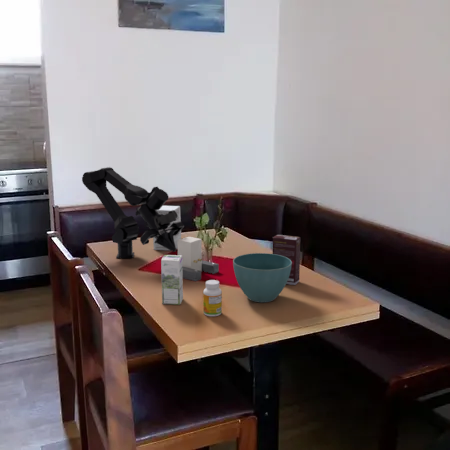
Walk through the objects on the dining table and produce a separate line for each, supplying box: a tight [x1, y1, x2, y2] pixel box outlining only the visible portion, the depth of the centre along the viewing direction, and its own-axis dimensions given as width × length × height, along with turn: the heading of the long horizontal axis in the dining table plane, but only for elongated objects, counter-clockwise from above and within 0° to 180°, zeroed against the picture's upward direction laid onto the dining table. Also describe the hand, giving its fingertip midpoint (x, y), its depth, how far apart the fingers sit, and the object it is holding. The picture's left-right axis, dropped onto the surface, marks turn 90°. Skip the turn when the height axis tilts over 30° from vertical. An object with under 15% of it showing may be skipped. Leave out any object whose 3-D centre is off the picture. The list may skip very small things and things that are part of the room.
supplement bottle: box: [202, 279, 223, 317], centre depth 170 cm, size 5×5×10 cm
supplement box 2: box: [272, 234, 301, 286], centre depth 197 cm, size 9×5×16 cm, turn 65°
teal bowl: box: [232, 252, 292, 303], centre depth 182 cm, size 18×18×12 cm
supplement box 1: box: [152, 205, 182, 252], centre depth 238 cm, size 10×9×17 cm
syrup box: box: [160, 254, 184, 306], centre depth 178 cm, size 6×6×14 cm
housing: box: [183, 260, 220, 282], centre depth 206 cm, size 10×13×3 cm
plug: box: [177, 236, 203, 272], centre depth 207 cm, size 7×6×12 cm
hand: (175, 251), depth 211 cm, fingers closed
